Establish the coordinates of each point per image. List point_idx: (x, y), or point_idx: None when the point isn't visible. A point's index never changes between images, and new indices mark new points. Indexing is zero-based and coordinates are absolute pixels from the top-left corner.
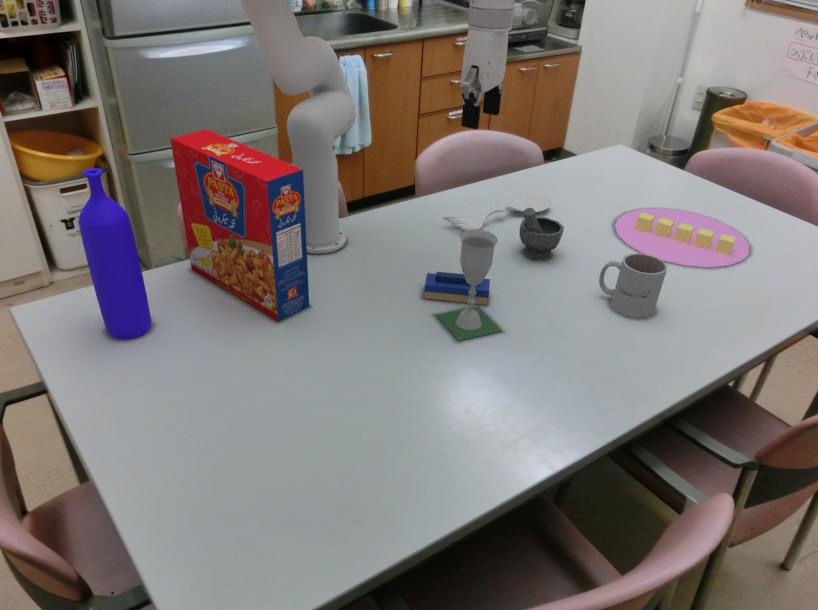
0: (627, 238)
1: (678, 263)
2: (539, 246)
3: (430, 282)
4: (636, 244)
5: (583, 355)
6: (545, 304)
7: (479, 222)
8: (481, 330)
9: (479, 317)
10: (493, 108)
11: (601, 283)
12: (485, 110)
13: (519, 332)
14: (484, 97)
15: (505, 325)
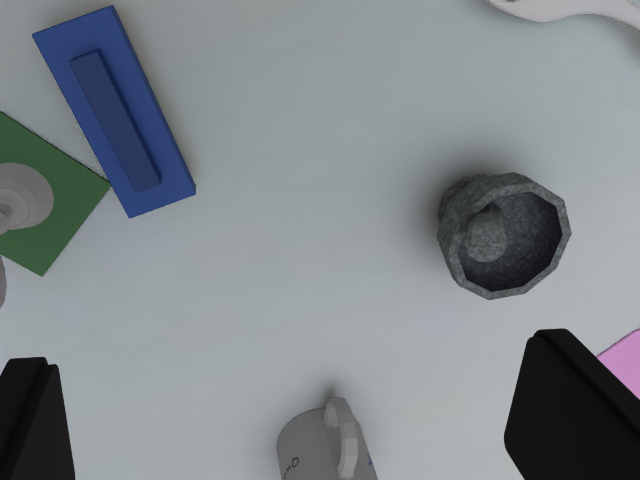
0: (620, 353)
1: None
2: (439, 244)
3: (57, 45)
4: None
5: (77, 431)
6: (228, 310)
7: (578, 2)
8: (5, 237)
9: (31, 224)
10: (536, 451)
11: (333, 405)
12: (535, 368)
13: (69, 307)
14: (617, 432)
15: (76, 271)
